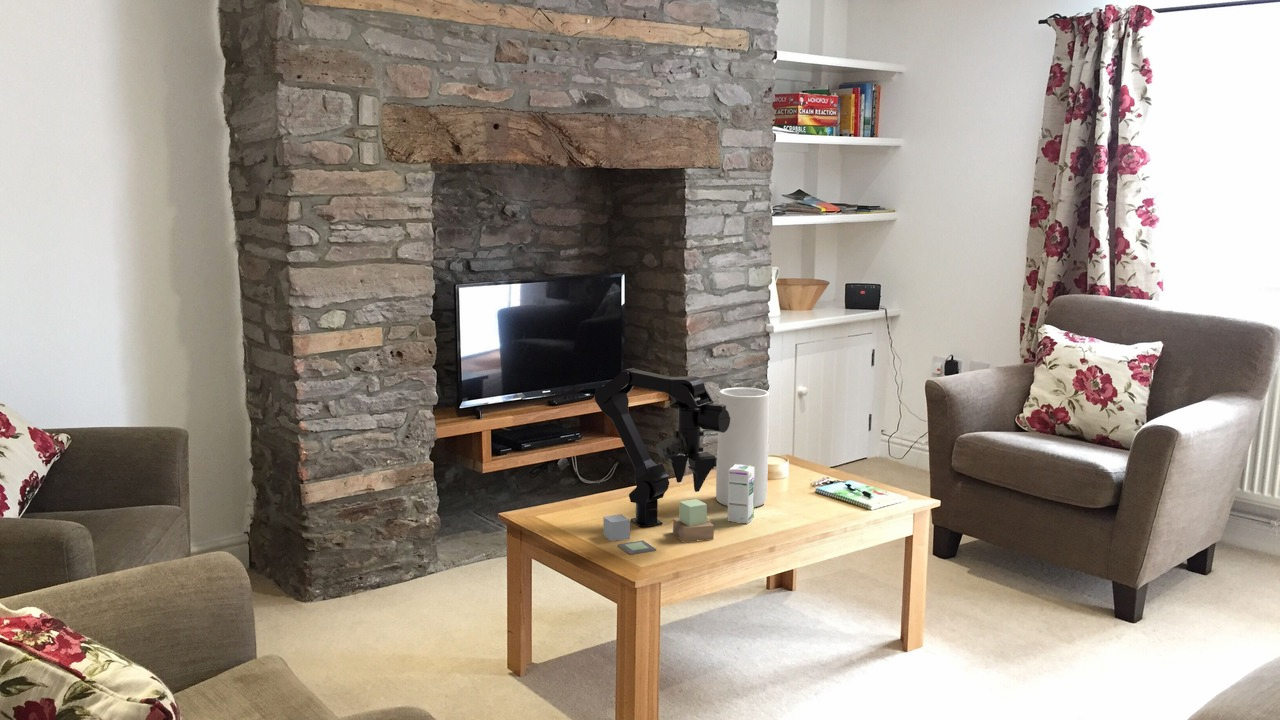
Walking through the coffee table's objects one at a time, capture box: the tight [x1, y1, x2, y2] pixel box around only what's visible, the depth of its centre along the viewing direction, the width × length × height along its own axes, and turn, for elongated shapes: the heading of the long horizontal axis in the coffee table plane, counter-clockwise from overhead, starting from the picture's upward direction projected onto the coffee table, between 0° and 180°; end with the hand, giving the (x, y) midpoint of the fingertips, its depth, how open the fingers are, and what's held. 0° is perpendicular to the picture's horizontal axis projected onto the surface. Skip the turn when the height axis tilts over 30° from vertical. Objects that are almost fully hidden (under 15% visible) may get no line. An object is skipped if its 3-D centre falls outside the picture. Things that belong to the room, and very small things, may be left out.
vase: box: [715, 387, 770, 508], centre depth 288 cm, size 14×14×32 cm
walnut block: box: [672, 517, 715, 543], centre depth 261 cm, size 8×8×4 cm
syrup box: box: [727, 464, 755, 525], centre depth 273 cm, size 6×6×14 cm
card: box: [617, 539, 657, 555], centre depth 251 cm, size 7×7×1 cm
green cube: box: [678, 498, 708, 526], centre depth 260 cm, size 5×5×5 cm
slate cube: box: [602, 513, 631, 542], centre depth 259 cm, size 5×5×5 cm
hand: (687, 486), depth 262 cm, fingers open, 9 cm apart
